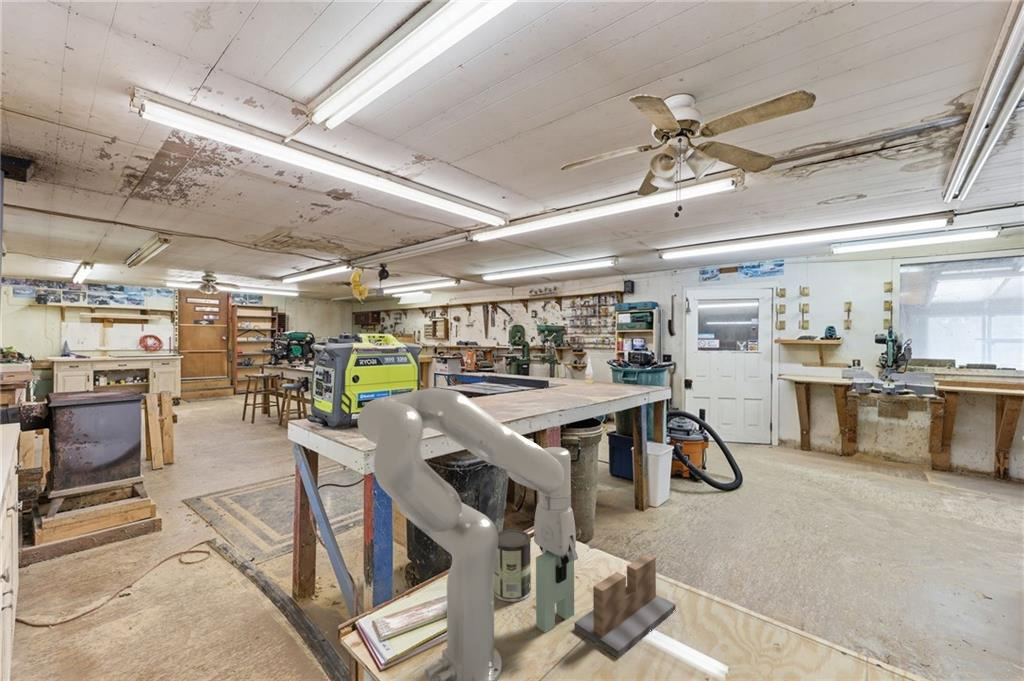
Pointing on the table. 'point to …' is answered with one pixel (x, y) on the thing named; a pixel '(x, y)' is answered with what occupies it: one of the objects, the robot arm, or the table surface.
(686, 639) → the table surface
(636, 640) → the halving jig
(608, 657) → the table surface
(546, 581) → the green slat
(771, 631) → the table surface
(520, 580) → the coffee can
